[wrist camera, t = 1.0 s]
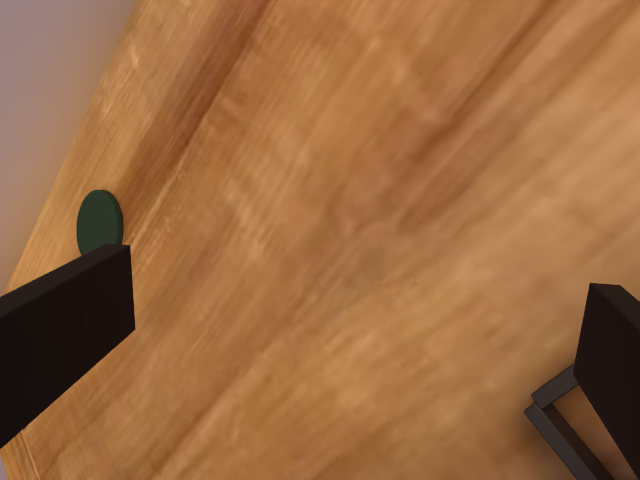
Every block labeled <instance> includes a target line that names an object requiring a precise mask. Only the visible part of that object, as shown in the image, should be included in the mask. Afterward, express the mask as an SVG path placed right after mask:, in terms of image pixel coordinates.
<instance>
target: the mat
mask: <svg viewBox="0 0 640 480" xmlns="http://www.w3.org/2000/svg"><path fill="white" fill-rule="evenodd" d="M122 235H123V222H122V215H121V210H120V207H119V205H118V202H117V201H116V199H115V198H114V196H113V195H112V194H111V193H109V192H108V191H105V190H94V191H92V192H90V193H89V194H88V195H87V196H86V197H85V199H84V200H83V202H82V204H81V207H80V210H79V213H78V218H77V242H78V247H79V250H80V253H81V255H82V256H83V255H85V254H87V253H89V252H91V251H92V250H94V249H96V248H98V247H100V246H102V245H104V244H118V245H121V242H122Z"/></svg>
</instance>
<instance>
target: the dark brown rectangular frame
mask: <svg viewBox="0 0 640 480" xmlns="http://www.w3.org/2000/svg"><path fill="white" fill-rule="evenodd" d="M574 364H575V363H573V364H572V365H571V366H569V367H568V368H567V369H565V370H564V371H562V372H561V373H560V374H558V375H557V376H555V377H554V378H553V379H551V380H550V381H548V382H547V383H546V384H544V385H543V386H542V387H540V388H539V389H537V390H536V391H535V392H533V393H532V394H531V397H532V398H533V400H534V401H535V403H533V404H532V405H531V406H530V407H528V408H527V409H526V410H525V411H524V414H525V415H526V416H527V417H528V419H529V420H530V421H531V422H532V424H533V425H534V426H535V427H536V429H537V430H538V431H539V432H540V434H541V435H542V436H543V437H544V439H545V440H546V441H547V443H548V444H549V445H550V446H551V448H552V449H553V450H554V451H555V453H556V454H557V455H558V456H559V458H560V459H561V460H562V461H563V463H564V464H565V465H566V466H567V468H568V469H569V470H570V471H571V473H572V474H573V475H574V476H575V478H576V479H577V480H614V478H613V477H612V476H611V475H610V474H609V472H608V471H607V470H606V469H605V468H604V466H603V465H602V464H601V463H600V462H599V460H598V459H597V458H596V457H595V456H594V454H593V453H592V452H591V451H590V450H589V448H588V447H587V446H586V445H585V444H584V442H583V441H582V440H581V439H580V438H579V436H578V435H577V434H576V433H575V432H574V430H573V429H572V428H571V427H570V426H569V424H568V423H567V422H566V421H565V420H564V418H563V417H562V416H561V415H560V413H559V412H558V411H557V410H556V409H555V407H554V406H553V405H552V404H551V403H553V402H554V401H556V400H557V399H559V398H560V397H561V396H563V395H564V394H566V393H567V392H569V391H570V390H572V389H573V388H574V387H576V386H577V385H579V384H578V382H577V381H576V379H575V377H574V376H573V370H574Z"/></svg>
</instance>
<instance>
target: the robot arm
mask: <svg viewBox="0 0 640 480" xmlns="http://www.w3.org/2000/svg"><path fill="white" fill-rule="evenodd" d="M134 330H135V316H134V300H133V284H132V268H131V253H130V245H118V244H104V245H102V246H100V247H98V248H96V249H94V250H92V251H91V252H89V253H87V254H85V255H83V256H81V257H79V258H77V259H75V260H73V261H71V262H69V263H67V264H65V265H63V266H61V267H59V268H57V269H55V270H53V271H51V272H49V273H47V274H45V275H43V276H41V277H39V278H37V279H35V280H33V281H31V282H29V283H27V284H25V285H23V286H21V287H19V288H17V289H15V290H13V291H11V292H9V293H7V294H5V295H3V296H1V297H0V449H1V448H2V447H3V446H4V445H6V444H7V443H8V442H9V441H10V440H11V439H12V438H13V437H15V436H16V435H17V434H18V433H19V432H20V431H21V430H22V429H24V428H25V427H26V426H27V425H28V424H29V423H30V422H31V421H33V420H34V419H35V418H36V417H37V416H38V415H39V414H40V413H42V412H43V411H44V410H45V409H46V408H47V407H48V406H50V405H51V404H52V403H53V402H54V401H55V400H56V399H57V398H59V397H60V396H61V395H62V394H63V393H64V392H65V391H66V390H68V389H69V388H70V387H71V386H72V385H73V384H74V383H75V382H77V381H78V380H79V379H80V378H81V377H82V376H83V375H84V374H86V373H87V372H88V371H89V370H90V369H91V368H92V367H93V366H95V365H96V364H97V363H98V362H99V361H100V360H101V359H102V358H104V357H105V356H106V355H107V354H108V353H109V352H110V351H111V350H113V349H114V348H115V347H116V346H117V345H118V344H119V343H121V342H122V341H123V340H124V339H125V338H126V337H127V336H128V335H130V334H131V333H132V332H133V331H134ZM573 376H574V377H575V379H576V381H577V382H578V384H579V385H580V387H581V388H582V390H583V392H584V393H585V395H586V396H587V398H588V400H589V401H590V403H591V404H592V406H593V408H594V409H595V411H596V412H597V414H598V416H599V417H600V419H601V420H602V422H603V424H604V425H605V427H606V428H607V430H608V432H609V433H610V435H611V436H612V438H613V440H614V441H615V443H616V444H617V446H618V448H619V449H620V451H621V452H622V454H623V455H624V457H625V459H626V460H627V462H628V463H629V465H630V467H631V468H632V470H633V471H634V473H635V475H636V476H637V478H638V479H639V480H640V302H639V301H638V300H637V299H636V298H634V297H633V296H632V295H631V294H630V293H629V292H627V291H626V290H625V289H624V288H623V287H622V286H620V285H610V284H598V283H590V285H589V291H588V296H587V301H586V306H585V312H584V317H583V322H582V327H581V333H580V338H579V343H578V349H577V354H576V359H575V364H574V370H573Z"/></svg>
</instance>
